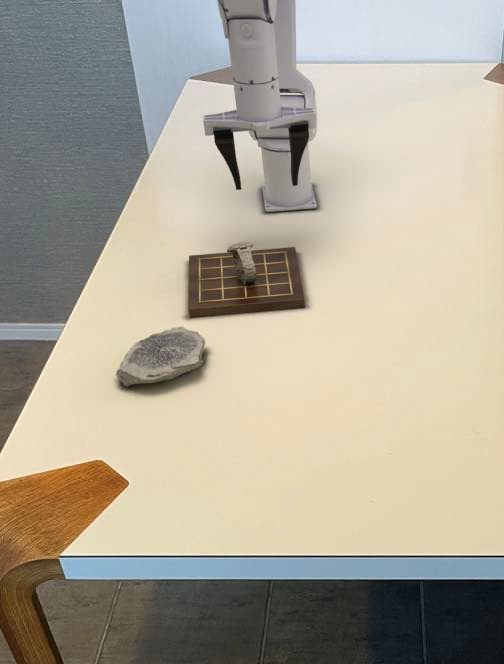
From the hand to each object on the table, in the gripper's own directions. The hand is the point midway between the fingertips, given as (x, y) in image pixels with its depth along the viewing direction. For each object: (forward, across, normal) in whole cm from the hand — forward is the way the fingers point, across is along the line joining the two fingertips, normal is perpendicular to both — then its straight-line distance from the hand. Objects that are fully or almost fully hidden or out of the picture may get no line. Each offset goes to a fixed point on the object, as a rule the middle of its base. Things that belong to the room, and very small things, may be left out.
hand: (266, 184), depth 117 cm
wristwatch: (+8, -4, -11) cm, 14 cm away
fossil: (+9, -14, -29) cm, 34 cm away
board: (+9, -4, -10) cm, 14 cm away
